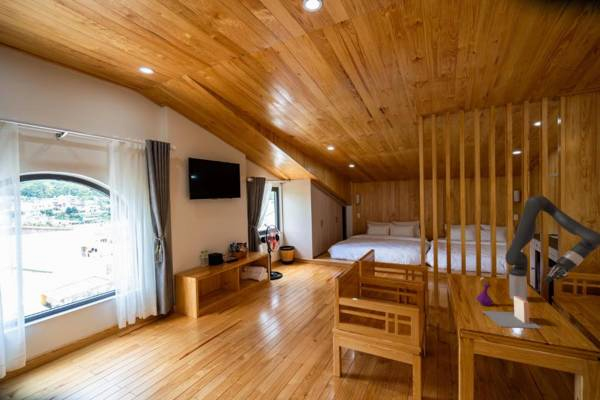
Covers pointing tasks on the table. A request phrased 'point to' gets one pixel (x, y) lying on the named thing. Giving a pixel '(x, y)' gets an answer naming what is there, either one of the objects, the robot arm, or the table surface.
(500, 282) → the table surface
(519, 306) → the tile
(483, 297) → the perfume bottle
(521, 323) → the mat
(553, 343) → the table surface
